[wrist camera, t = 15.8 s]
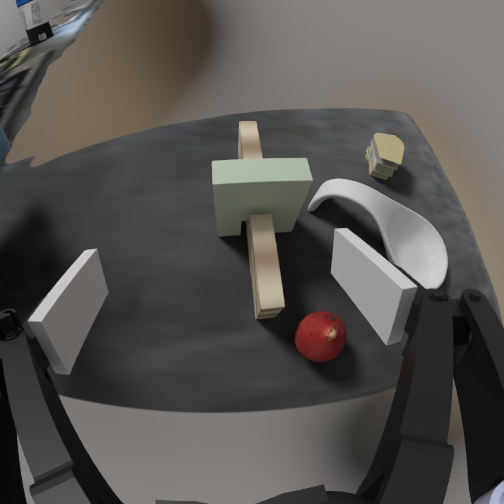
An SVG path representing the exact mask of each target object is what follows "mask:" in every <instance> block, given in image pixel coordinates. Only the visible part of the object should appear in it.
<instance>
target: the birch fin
mask: <svg viewBox="0 0 504 504" xmlns="http://www.w3.org/2000/svg"><path fill="white" fill-rule="evenodd" d="M238 157H239V160H240V159H263V158H262V152H261V147H260V141H259V135H258V129H257V124H256V121H241V122H239V141H238ZM245 224H246V233H247V243H248V252H249V261H250V271H251V280H252V289H253V298H254V307H255V317H256V319H265V318H274V317H276V316H277V315H278V314H279V313H280V312H281V310H282V309H283V308H284V307H285V304H284V296H283V289H282V282H281V275H280V268H279V261H278V254H277V247H276V240H275V234H274V227H273V220H272V214H259V215H250V220H249V221H245Z"/></svg>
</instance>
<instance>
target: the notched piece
mask: <svg viewBox="0 0 504 504" xmlns="http://www.w3.org/2000/svg"><path fill="white" fill-rule="evenodd" d="M212 177H213V192H214V202H215V212H216V221H217V230H218V237H219V236H233V235H241V221H249V220H250V215H259V214H272V220H273V227H274V233H278V232H292V229H293V227H294V224H295V222H296V220H297V217H298V215H299V212H300V210H301V208H302V205H303V203H304V200H305V198H306V195H307V193H308V190H309V188H310V186H311V183H312V181H313V180H312V176H311V173H310V169H309V165H308V162H307V158H267V159H240V160H222V161H212Z"/></svg>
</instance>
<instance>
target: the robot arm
mask: <svg viewBox="0 0 504 504" xmlns="http://www.w3.org/2000/svg"><path fill="white" fill-rule="evenodd" d="M8 148H9V142H8V139H7V137H6V135H5V133H4V131H3V129H2V127H1V125H0V160H1V159H2V158H3V157H4V155H5V154H6V153H7V151H8ZM331 274H332V275H333V276H334V278H335V279H336V280H337V281H338V283H339V284H340V285H341V287H342V288H343V289H344V290H345V292H346V293H347V294H348V295H349V297H350V298H351V299H352V301H353V302H354V303H355V305H356V306H357V307H358V308H359V310H360V311H361V312H362V314H363V315H364V316H365V318H366V319H367V320H368V322H369V323H370V324H371V326H372V327H373V328H374V330H375V331H376V332H377V334H378V335H379V336H380V338H381V339H382V340H383V342H384V343H385V344H386V346H387V345H390V344H394V343H397V342H400V341H401V339H402V336H403V333H404V330H405V331H406V333H407V334H408V335H409V337H408V340H407V343H406V345H405V348H404V351H403V353H402V356H404V358H403V363H402V367H401V372H400V376H399V380H398V384H397V388H396V392H395V395H394V399H393V402H392V406H391V409H390V413H389V416H388V420H387V422H386V425H385V428H384V431H383V434H382V438H381V440H380V443H379V446H378V448H377V451H376V453H375V456H374V459H373V461H372V464H371V466H370V469H369V471H368V473H367V475H366V477H365V478H364V480H363V482H362V483H361V485H360V487H359V488H358V490H357V492H356V494H352V493H347V492H340V491H326V490H325V487H324V485H319V486H315V487H311V488H307V489H302V490H298V491H293V492H288V493H283V494H280V495H278V496H276V497H273V498H270V499H268V500H265V501H262V502H259V503H257V504H443V501H444V498H445V494H446V490H447V486H448V482H449V478H450V473H451V468H452V463H453V457H454V448H453V446H452V445H448V444H447V437H448V429H449V422H450V413H451V402H452V389H453V377H454V381H455V386H456V390H457V395H458V400H459V405H460V411H461V416H462V423H463V430H464V437H465V445H466V455H467V470H468V483H469V492H470V497H471V503H472V504H504V328H503V326H502V324H501V322H500V321H499V319H498V317H497V315H496V313H495V312H494V310H493V308H492V307H491V305H490V303H489V302H488V300H487V298H486V297H485V296H484V295H483V294H482V293H481V292H480V291H478V290H476V289H465V290H463V292H462V295H461V298H460V299H450V297H449V295H448V294H447V293H445V292H443V291H442V290H439V289H434V288H429V289H426V288H425V287H423V286H422V285H421V284H420V283H419V282H418V281H416V280H415V279H414V278H412V276H411V275H409V274H408V273H407V272H406V271H405V270H403V269H402V268H401V267H399V266H397V265H395V264H393V263H390V262H388V261H387V260H386V259H385V258H384V257H382V256H381V255H380V254H379V253H378V252H376V251H375V250H374V249H373V248H371V247H370V246H369V245H368V244H366V243H365V242H364V241H363V240H361V239H360V238H359V237H358V236H356V235H355V234H354V233H353V232H351V231H350V230H349V229H347V228H340V229H335V231H334V244H333V255H332V266H331ZM108 293H109V292H108V289H107V285H106V282H105V278H104V275H103V271H102V267H101V263H100V260H99V256H98V251H97V249H92V250H85V251H84V252H83V253H82V254H81V256H80V257H79V258H78V259H77V260H76V261H75V262H74V263H73V265H72V266H71V267H70V268H69V269H68V270H67V272H66V273H65V274H64V275H63V276H62V277H61V279H60V280H59V281H58V282H57V284H56V285H55V286H54V287H53V288H52V290H51V291H50V292H49V293H48V295H46V296H45V297H44V298H42V299H41V300H40V301H39V303H38V304H37V305H36V307H35V308H34V309H33V311H32V312H31V313H30V315H29V316H28V317H27V319H26V320H25V321H24V323H23V324H22V323H21V321H20V319H19V317H18V315H17V313H16V311H15V309H12V308H11V309H6V310H3V311H1V312H0V504H27V502H26V497H25V493H24V488H23V483H22V477H21V470H20V462H19V454H18V443H17V433H18V436H19V440H20V443H21V446H22V449H23V452H24V455H25V458H26V460H27V463H28V465H29V468H30V471H31V473H32V476H33V478H34V481H35V483H34V484H32V485H30V489H29V490H30V493H31V496H32V498H33V501H34V502H35V504H124V503H122V502H121V500H120V499H119V498H118V497H117V496H116V494H115V493H114V492H113V490H112V489H111V488H110V487H109V485H108V483H107V482H106V481H105V479H104V478H103V476H102V475H101V473H100V472H99V471H98V469H97V467H96V466H95V464H94V463H93V461H92V459H91V457H90V456H89V454H88V453H87V451H86V449H85V448H84V446H83V444H82V442H81V440H80V439H79V437H78V435H77V433H76V431H75V429H74V427H73V425H72V424H71V421H70V419H69V417H68V415H67V413H66V411H65V409H64V407H63V405H62V403H61V400H60V398H59V396H58V393H57V391H56V389H55V386H54V384H53V381H52V379H51V376H50V374H49V373H48V371H47V368H48V366H49V364H50V365H51V367H52V368H53V370H54V372H55V373H56V374H65V375H70V373H71V370H72V368H73V365H74V363H75V361H76V358H77V356H78V354H79V352H80V349H81V347H82V345H83V343H84V341H85V339H86V336H87V334H88V332H89V330H90V328H91V326H92V324H93V322H94V320H95V318H96V316H97V314H98V312H99V310H100V308H101V306H102V304H103V302H104V300H105V298H106V296H107V295H108ZM156 504H206V503H201V502H197V501H165V500H164V501H163V500H156Z"/></svg>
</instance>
